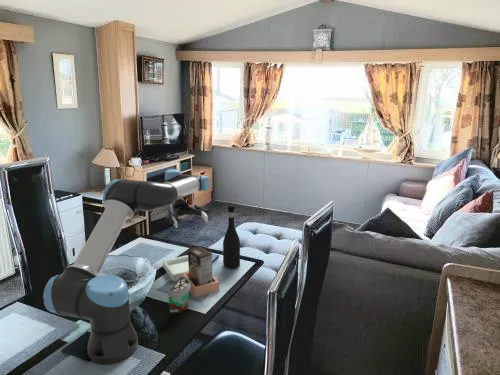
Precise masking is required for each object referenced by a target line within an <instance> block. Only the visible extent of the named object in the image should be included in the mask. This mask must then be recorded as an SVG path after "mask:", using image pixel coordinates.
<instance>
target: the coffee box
mask: <svg viewBox="0 0 500 375" xmlns="http://www.w3.org/2000/svg"><path fill="white" fill-rule="evenodd" d="M187 255H188V264H189V279H190V280H191V281H192V283H193V284H194V285H195V286H200V285H204V284H208V283H211V282H212V275H213V253H212V252H211V251H209V250H207V249H205V248H203V247H202V246H197V247H193V248H190V249H187Z"/></svg>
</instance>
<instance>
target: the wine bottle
mask: <svg viewBox="0 0 500 375" xmlns="http://www.w3.org/2000/svg"><path fill="white" fill-rule="evenodd" d="M235 209H236V208H235V205H234V204H229V205H228V206H227V210H228V215H227V216H228V224H227V228H226V232H225V235H224V236H223V242H222V265H223V266H224V268H226V269H231V270H232V269H233V270H234V269H237V268H239V267H240V265H241V239H240V237H239V235H238V232H237V230H236V226H235Z"/></svg>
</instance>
